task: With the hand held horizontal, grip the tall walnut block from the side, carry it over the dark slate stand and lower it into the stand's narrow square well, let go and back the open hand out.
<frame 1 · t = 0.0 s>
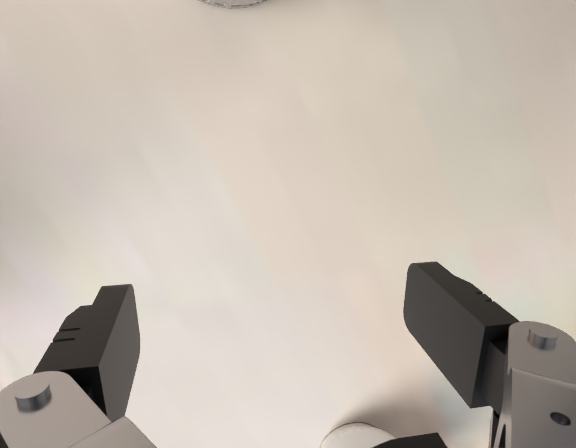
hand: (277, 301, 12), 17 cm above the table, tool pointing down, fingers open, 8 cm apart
lidded jar: (349, 444, 41), on the table
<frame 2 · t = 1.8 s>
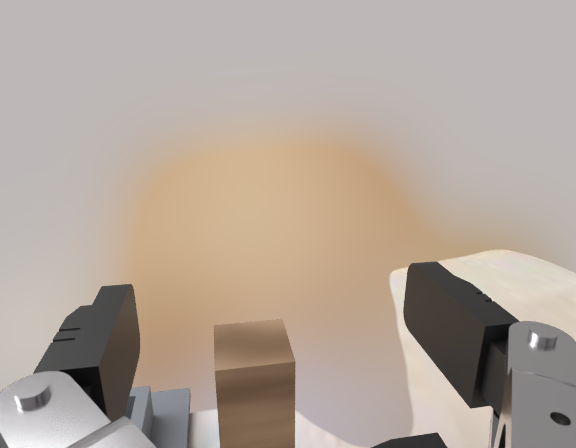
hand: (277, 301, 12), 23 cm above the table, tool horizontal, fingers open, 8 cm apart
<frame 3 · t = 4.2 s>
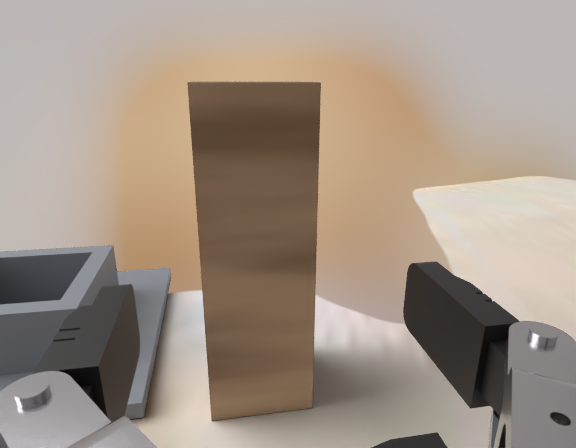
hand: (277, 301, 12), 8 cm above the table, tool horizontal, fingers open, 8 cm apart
walnut block: (257, 380, 21), on the table
slate stand: (33, 341, 24), on the table
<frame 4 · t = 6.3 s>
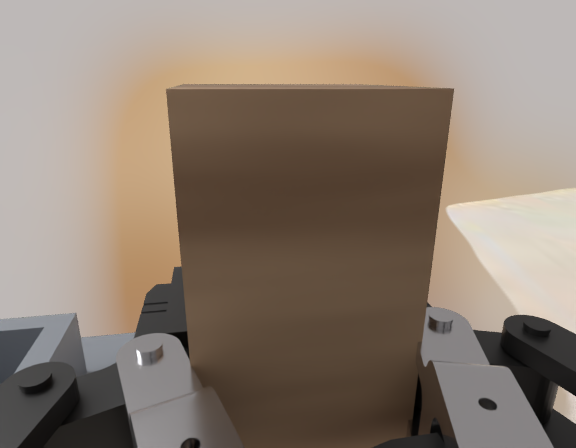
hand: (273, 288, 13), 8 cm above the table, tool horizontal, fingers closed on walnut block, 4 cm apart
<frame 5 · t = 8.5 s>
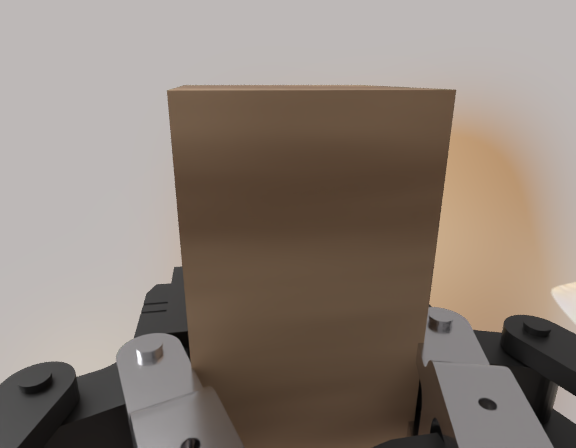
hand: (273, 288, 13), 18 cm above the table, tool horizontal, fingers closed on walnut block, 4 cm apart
when the fingers open (10 cm above the table, at t = 10.9 s): walnut block stays where it is, resting on slate stand.
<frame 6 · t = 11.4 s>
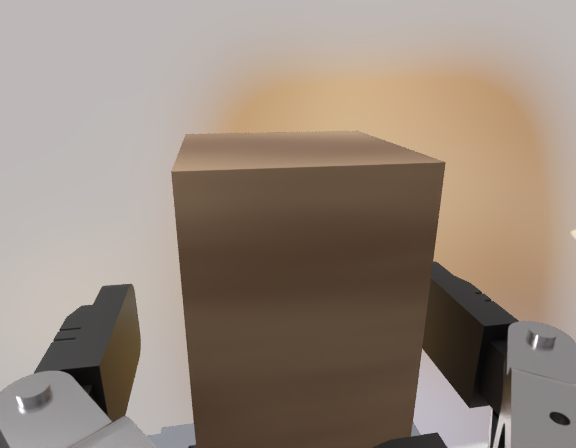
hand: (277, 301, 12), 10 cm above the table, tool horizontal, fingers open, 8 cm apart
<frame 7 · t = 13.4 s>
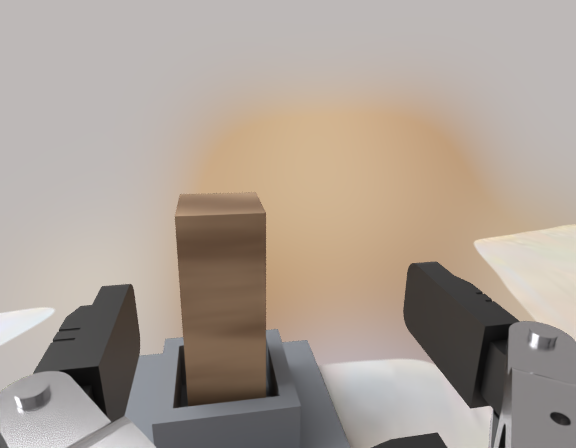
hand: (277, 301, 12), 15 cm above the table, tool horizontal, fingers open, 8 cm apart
walnut block: (227, 410, 28), point 1 cm above the table, touching slate stand
slate stand: (227, 420, 28), on the table
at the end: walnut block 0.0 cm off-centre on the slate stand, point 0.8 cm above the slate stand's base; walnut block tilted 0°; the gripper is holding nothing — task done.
